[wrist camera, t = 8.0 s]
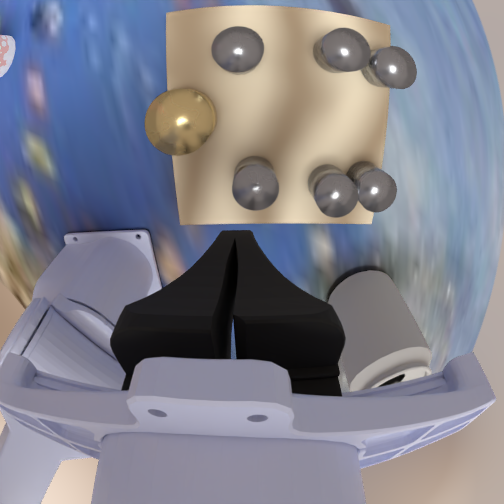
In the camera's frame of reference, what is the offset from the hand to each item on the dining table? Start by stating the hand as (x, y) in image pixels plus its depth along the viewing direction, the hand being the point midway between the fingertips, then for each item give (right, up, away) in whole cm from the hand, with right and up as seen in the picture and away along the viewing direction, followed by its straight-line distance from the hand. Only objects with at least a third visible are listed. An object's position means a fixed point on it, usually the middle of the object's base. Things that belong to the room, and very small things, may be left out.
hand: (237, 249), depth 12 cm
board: (+3, +10, +6) cm, 11 cm away
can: (+12, -4, +15) cm, 20 cm away
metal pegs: (+5, +9, +5) cm, 12 cm away
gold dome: (-4, +9, +5) cm, 11 cm away
